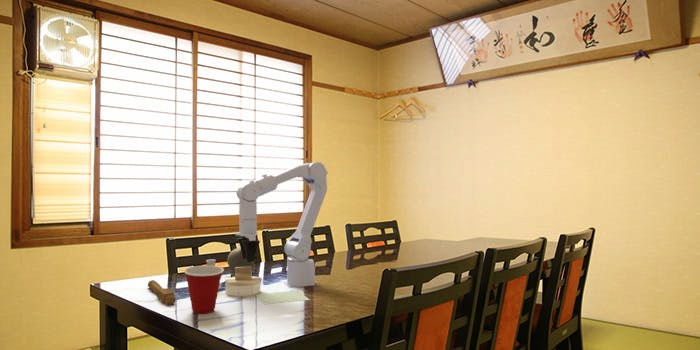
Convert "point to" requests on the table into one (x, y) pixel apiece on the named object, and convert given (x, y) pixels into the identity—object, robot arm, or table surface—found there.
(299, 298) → the mat
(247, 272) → the lid
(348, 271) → the table surface
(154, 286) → the tap handle
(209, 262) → the flask
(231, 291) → the bowl
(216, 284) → the plastic cup
